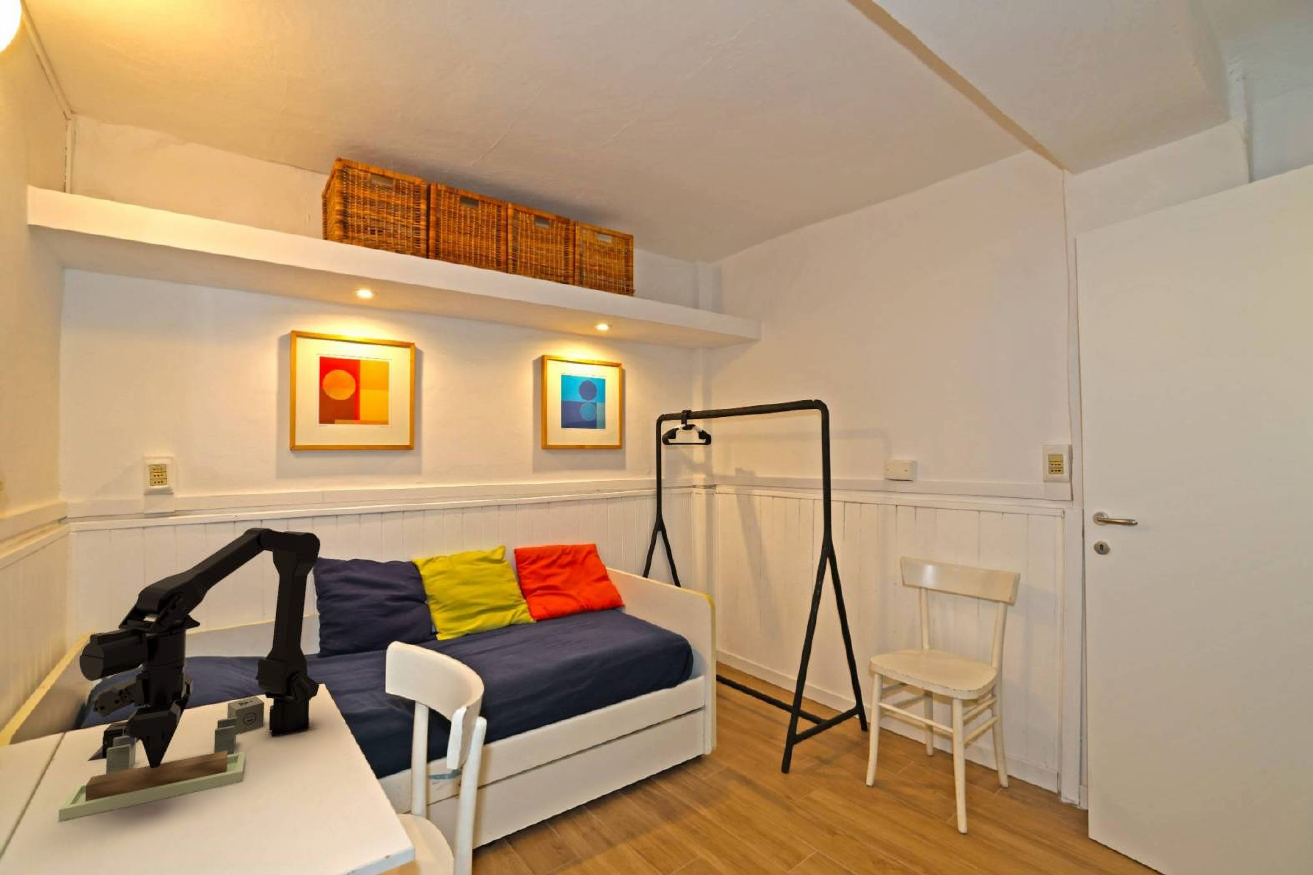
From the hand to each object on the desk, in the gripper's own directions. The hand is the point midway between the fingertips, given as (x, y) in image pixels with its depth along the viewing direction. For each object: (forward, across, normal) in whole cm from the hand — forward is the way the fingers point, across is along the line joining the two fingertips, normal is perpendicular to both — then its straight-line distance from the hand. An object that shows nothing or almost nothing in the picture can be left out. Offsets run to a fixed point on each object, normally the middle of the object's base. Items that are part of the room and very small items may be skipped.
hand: (160, 755), depth 102 cm
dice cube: (+6, -21, +11) cm, 24 cm away
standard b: (+6, -11, -7) cm, 14 cm away
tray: (+6, 0, 0) cm, 6 cm away
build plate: (+6, -22, -10) cm, 25 cm away
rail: (+5, 0, 0) cm, 5 cm away
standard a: (+6, -11, +8) cm, 14 cm away
